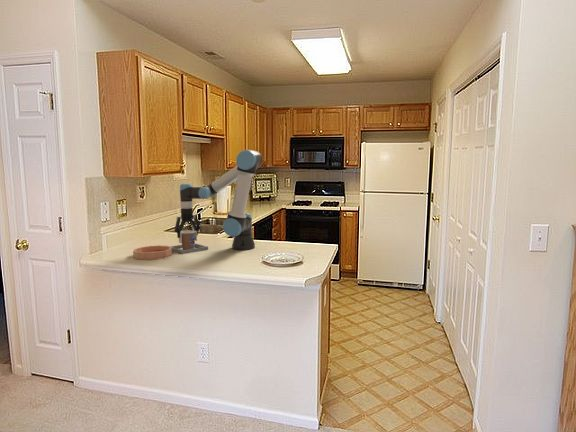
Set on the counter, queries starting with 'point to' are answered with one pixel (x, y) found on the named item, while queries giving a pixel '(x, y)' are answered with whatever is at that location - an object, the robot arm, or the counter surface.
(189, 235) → the coffee cup
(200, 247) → the tray
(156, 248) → the terracotta bowl
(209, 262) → the counter surface
